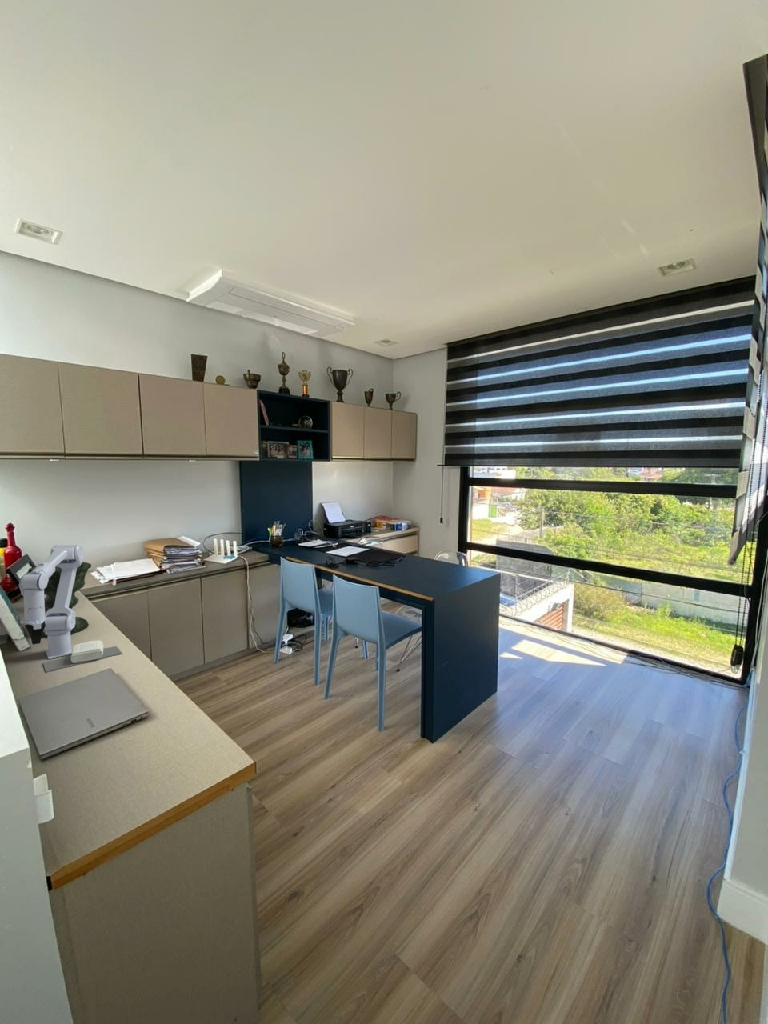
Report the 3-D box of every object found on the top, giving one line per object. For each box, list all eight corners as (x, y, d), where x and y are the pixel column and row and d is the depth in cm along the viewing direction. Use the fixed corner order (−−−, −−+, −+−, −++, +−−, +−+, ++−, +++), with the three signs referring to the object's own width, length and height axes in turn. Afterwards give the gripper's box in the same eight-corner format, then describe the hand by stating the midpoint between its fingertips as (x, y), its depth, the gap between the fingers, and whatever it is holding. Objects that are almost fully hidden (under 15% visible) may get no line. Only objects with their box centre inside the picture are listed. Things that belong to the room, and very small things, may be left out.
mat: (42, 663, 159) (42, 662, 159) (116, 646, 175) (116, 645, 175) (46, 672, 152) (46, 671, 152) (122, 653, 169) (122, 652, 169)
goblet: (30, 629, 193) (27, 565, 191) (89, 618, 208) (87, 559, 206) (32, 643, 177) (29, 574, 174) (96, 631, 192) (94, 567, 190)
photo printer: (103, 658, 163) (103, 647, 173) (102, 647, 163) (102, 637, 173) (70, 665, 157) (72, 653, 168) (70, 654, 157) (72, 643, 167)
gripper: (18, 604, 153) (20, 640, 154) (21, 614, 143) (23, 652, 144) (42, 600, 158) (44, 635, 159) (48, 609, 148) (49, 647, 149)
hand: (36, 643), depth 152 cm, fingers closed
